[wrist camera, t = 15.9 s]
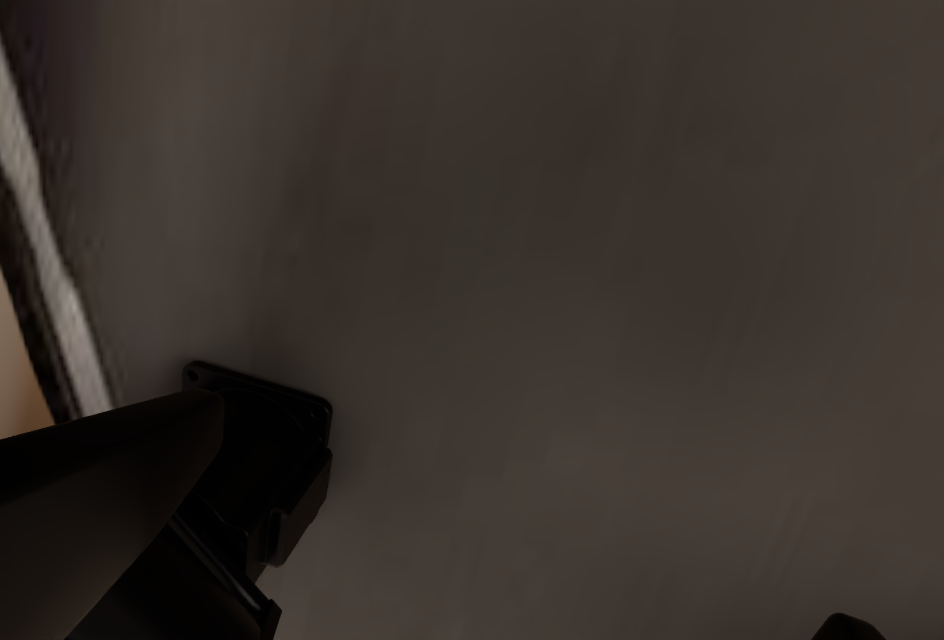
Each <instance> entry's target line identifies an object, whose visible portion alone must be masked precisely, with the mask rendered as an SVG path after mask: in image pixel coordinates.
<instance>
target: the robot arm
mask: <svg viewBox="0 0 944 640" xmlns="http://www.w3.org/2000/svg"><path fill="white" fill-rule="evenodd" d="M194 371H195V372H197V374H198V376H199V377H198V376H197V375H196V374H195V373H194ZM316 408H318V409H320V410H321V411H322V412H323V414H320V413H318V412H317V411H316ZM332 413H333V410H332V406H331V404H330V403H329V402H328V401H327V400H325V399H323V398H319V397H316V396H313V395H309V394H306V393H303V392H300V391H296V390H293V389H290V388H286V387H283V386H280V385H276V384H273V383H270V382H266V381H263V380H260V379H256V378H253V377H250V376H247V375H243V374H240V373H237V372H233V371H230V370H227V369H223V368H220V367H217V366H213V365H210V364H207V363H203V362H200V361H193V362H191V363H189V364H188V365H186V366H185V367H184V368H183V371H182V391H181V392H177V393H173V394H169V395H166V396H162V397H158V398H154V399H151V400H147V401H143V402H139V403H136V404H132V405H128V406H124V407H121V408H117V409H113V410H109V411H106V412H102V413H98V414H94V415H91V416H87V417H83V418H79V419H76V420H72V421H68V422H64V423H61V424H57V425H53V426H50V427H46V428H42V429H39V430H34V431H31V432H27V433H23V434H19V435H16V436H12V437H8V438H5V439H1V440H0V640H273V638H274V635H275V632H276V629H277V625H278V622H279V619H280V616H281V613H282V610H281V609H280V607H279V606H278V605H277V604H276V603H275V602H274V601H273V600H272V599H270V600H268V598H267V597H266V596H265V595H264V594H263V593H262V592H261V591H260V589H259V588H258V587H257V586H256V585H255V582H256V581H257V579H258V578H259V576H260V575H261V574H262V572H263V571H264V569H265V568H266V566H270V567H273V568H278V567H279V566H281V565H283V564H284V563H285V561H286V560H287V558H288V557H289V555H290V554H291V552H292V550H293V549H294V547H295V546H296V544H297V543H298V541H299V540H300V538H301V536H302V535H303V533H304V532H305V530H306V529H307V527H308V526H309V524H311V523H312V522H313V521H314V519H315V517H316V516H317V513H318V510H319V508H320V507H321V505H322V504H323V502H324V501H325V499H326V495H327V488H328V482H329V475H330V469H331V462H332V456H333V455H332V453H331V450H330V449H329V448H327V447H328V440H329V433H330V426H331V420H332ZM811 640H886V639H885V638H884V637H883V636H882V635H881V634H880V632H879V631H878V630H877V629H876V628H875V627H874V626H872V625H871V624H870V623H868V622H866V621H863V620H860V619H858V618H855V617H852V616H849V615H846V614H843V613H834V614H832V615H830V616H829V617H828V619H827V620H826V621H825V622H824V624H823V625H822V626H821V628H820V629H819V630H818V631H817V633H816V634H815V635H814V637H813V638H812V639H811Z"/></svg>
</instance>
